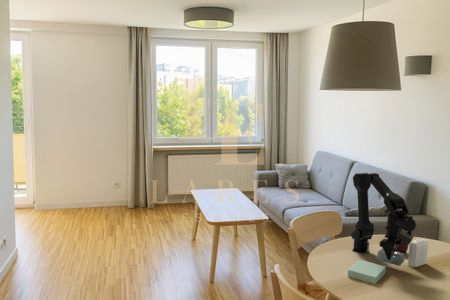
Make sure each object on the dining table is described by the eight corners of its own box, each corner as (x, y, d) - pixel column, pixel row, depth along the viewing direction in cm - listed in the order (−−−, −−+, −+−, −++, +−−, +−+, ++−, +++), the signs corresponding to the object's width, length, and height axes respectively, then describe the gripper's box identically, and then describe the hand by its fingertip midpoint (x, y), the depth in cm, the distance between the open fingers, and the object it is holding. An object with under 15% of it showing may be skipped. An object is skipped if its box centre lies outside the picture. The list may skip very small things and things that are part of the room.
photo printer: (419, 260, 210) (421, 236, 208) (427, 263, 207) (430, 238, 205) (406, 265, 205) (408, 239, 203) (414, 268, 201) (417, 242, 199)
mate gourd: (406, 255, 216) (408, 226, 213) (389, 252, 220) (391, 223, 218) (408, 251, 222) (411, 222, 220) (392, 247, 226) (394, 219, 224)
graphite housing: (377, 259, 202) (378, 250, 201) (381, 256, 206) (382, 246, 206) (399, 266, 196) (400, 255, 195) (403, 261, 200) (404, 252, 199)
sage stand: (347, 276, 192) (348, 269, 191) (358, 265, 203) (359, 259, 202) (375, 284, 185) (375, 277, 184) (385, 272, 196) (385, 266, 195)
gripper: (406, 234, 186) (403, 268, 188) (417, 223, 201) (414, 255, 203) (380, 228, 193) (377, 262, 195) (392, 218, 207) (390, 249, 210)
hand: (390, 257), depth 201 cm, fingers closed on graphite housing, 6 cm apart
